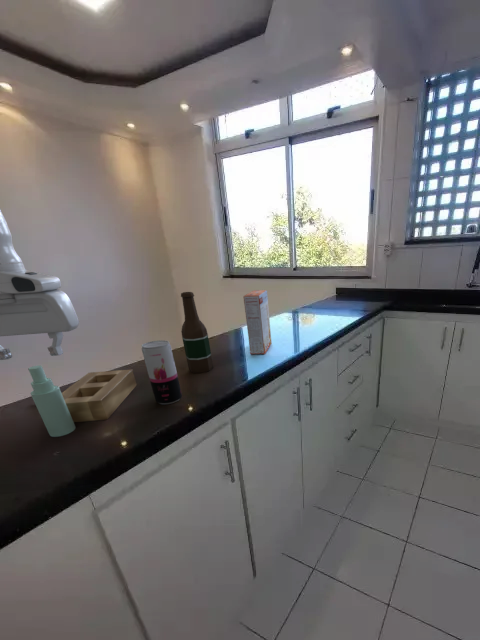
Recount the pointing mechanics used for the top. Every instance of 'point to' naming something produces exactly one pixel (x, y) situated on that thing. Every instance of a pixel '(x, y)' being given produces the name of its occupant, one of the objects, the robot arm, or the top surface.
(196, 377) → the top surface
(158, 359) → the beverage can
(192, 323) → the beer bottle
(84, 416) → the bottle stand
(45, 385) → the bottle
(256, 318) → the cracker box
